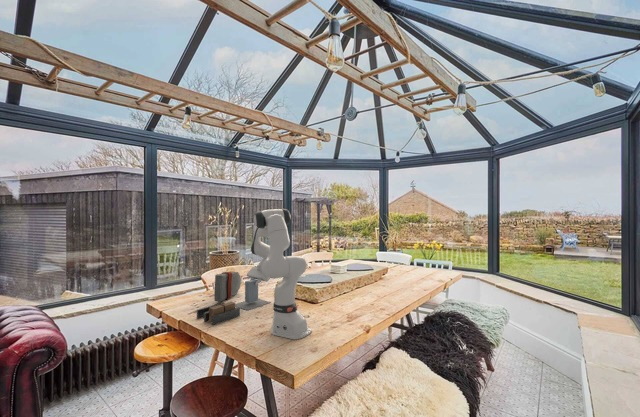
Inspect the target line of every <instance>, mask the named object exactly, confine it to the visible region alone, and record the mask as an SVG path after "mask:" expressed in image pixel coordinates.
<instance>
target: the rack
mask: <svg viewBox="0 0 640 417" xmlns="http://www.w3.org/2000/svg"><path fill="white" fill-rule="evenodd" d="M224 303H225V302H223V301H221V302H219V303H216V304H212V305H209V306H206V307H202V308H201V307H200V308H199V309H196V319H202V318H203V322H205V323H207V322H209V308H210V307H214V306H217V305H221V304H224ZM238 317H241V308H239V307H235V308H234V309H231V310H228V311H225V312H222V313H219V314H215V315H212V323H211V325H212V326H215V325H218V324H221V323H224V322H227V321H230V320H233V319H235V318H238Z"/></svg>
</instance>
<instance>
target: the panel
mask: <svg viewBox="0 0 640 417" xmlns="http://www.w3.org/2000/svg"><path fill="white" fill-rule="evenodd" d="M257 281H258V280H257V279H253V280H250V279H249V280H246V281H244V301H245V302H246V303H251V302H254V301H258V299H259V284H258V285H255V284H254V283H255V282H257Z"/></svg>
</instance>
